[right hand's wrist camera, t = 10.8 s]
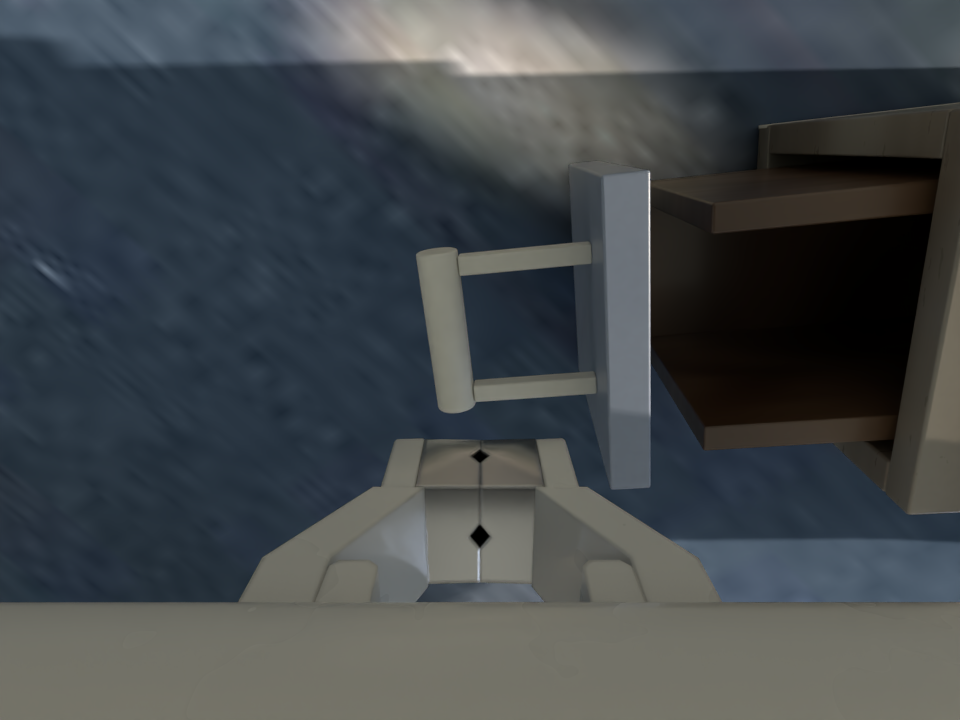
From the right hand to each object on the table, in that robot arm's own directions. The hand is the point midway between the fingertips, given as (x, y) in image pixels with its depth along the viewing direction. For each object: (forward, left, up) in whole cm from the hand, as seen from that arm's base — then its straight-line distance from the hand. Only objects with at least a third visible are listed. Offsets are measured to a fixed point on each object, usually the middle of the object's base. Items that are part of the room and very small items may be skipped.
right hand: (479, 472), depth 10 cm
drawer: (+11, +2, -15) cm, 19 cm away
